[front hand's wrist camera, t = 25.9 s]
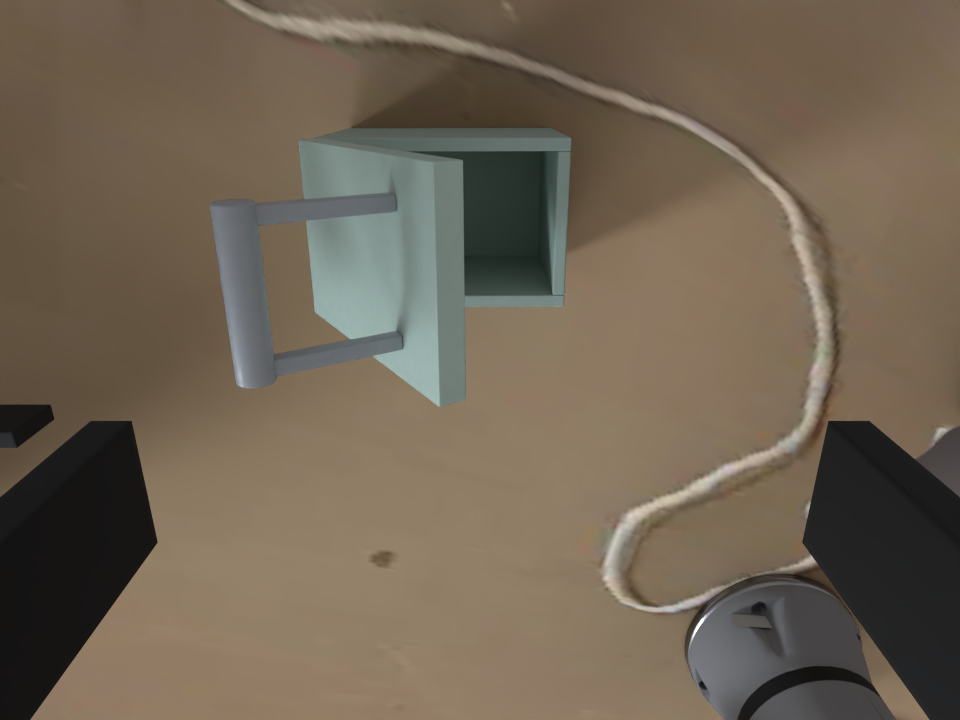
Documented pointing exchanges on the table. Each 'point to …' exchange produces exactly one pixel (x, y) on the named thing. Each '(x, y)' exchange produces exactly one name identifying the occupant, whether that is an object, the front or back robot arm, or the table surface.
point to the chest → (500, 205)
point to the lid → (358, 266)
